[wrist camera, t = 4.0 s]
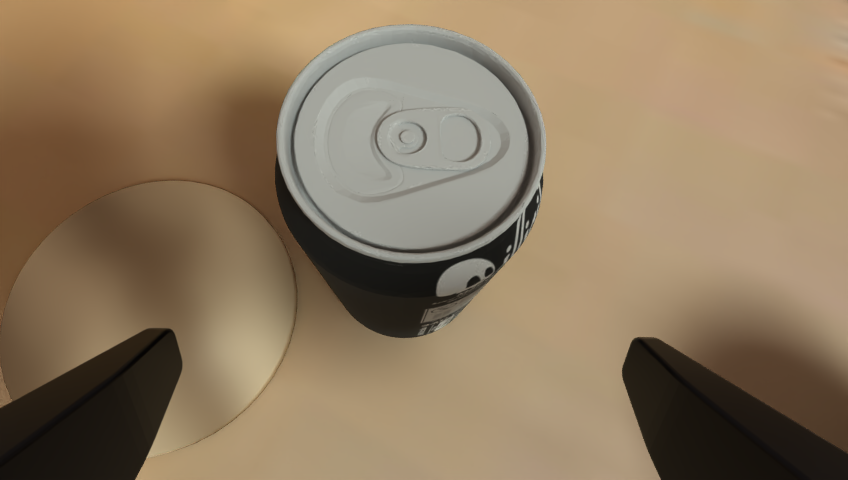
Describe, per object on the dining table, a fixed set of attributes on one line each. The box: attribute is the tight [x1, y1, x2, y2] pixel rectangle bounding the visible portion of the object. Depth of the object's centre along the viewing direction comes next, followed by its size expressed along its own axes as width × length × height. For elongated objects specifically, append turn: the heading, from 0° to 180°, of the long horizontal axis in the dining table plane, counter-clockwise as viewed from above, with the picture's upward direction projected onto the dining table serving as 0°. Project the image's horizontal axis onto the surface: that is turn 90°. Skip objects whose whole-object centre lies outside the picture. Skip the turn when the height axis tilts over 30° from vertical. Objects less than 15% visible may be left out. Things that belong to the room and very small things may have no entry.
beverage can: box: [275, 24, 546, 338], centre depth 15 cm, size 7×7×12 cm
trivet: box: [0, 180, 297, 458], centre depth 19 cm, size 12×12×1 cm
